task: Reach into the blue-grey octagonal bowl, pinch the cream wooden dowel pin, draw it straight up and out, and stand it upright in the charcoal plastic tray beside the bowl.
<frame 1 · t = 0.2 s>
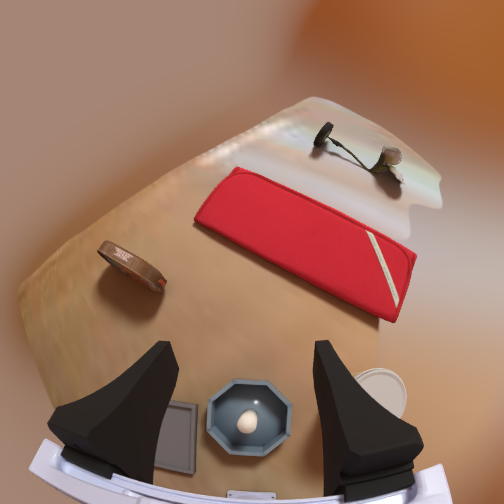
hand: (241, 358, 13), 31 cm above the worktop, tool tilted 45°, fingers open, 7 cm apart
dowel pin: (250, 415, 37), point 1 cm above the worktop, touching blue-grey octagonal bowl
blue-grey octagonal bowl: (250, 414, 38), on the worktop
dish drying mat: (308, 240, 50), on the worktop
tray: (165, 433, 36), on the worktop
coffee cup: (349, 395, 38), on the worktop
tin: (140, 274, 49), on the worktop
artificial flower: (361, 161, 57), on the worktop
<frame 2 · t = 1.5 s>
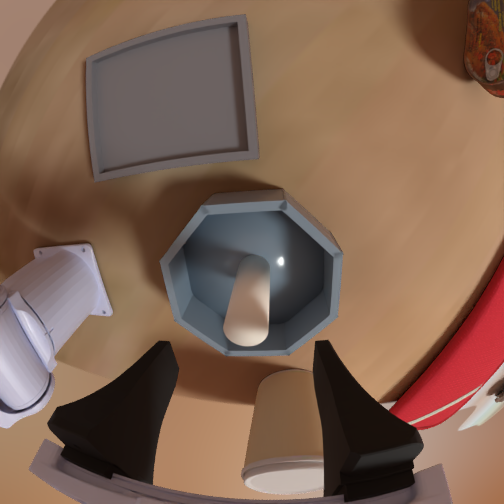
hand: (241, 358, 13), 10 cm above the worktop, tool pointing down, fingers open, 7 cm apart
dowel pin: (254, 269, 22), point 1 cm above the worktop, touching blue-grey octagonal bowl
blue-grey octagonal bowl: (254, 266, 22), on the worktop
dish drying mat: (497, 312, 23), on the worktop
tray: (166, 98, 17), on the worktop
coffee cup: (291, 389, 28), on the worktop
tin: (476, 39, 12), on the worktop
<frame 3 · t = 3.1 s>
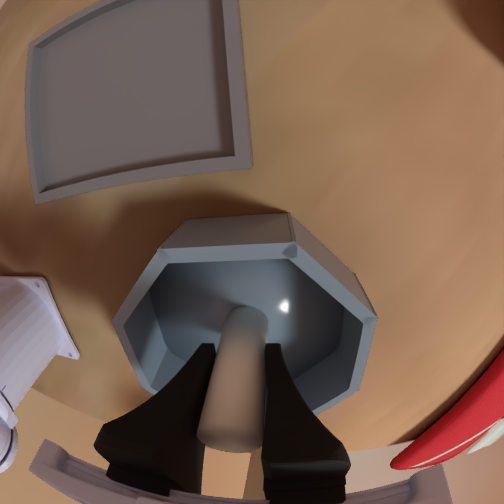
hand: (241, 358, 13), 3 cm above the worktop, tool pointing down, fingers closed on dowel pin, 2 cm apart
dowel pin: (246, 323, 15), point 1 cm above the worktop, touching blue-grey octagonal bowl, gripper
blue-grey octagonal bowl: (247, 317, 16), on the worktop
tray: (121, 83, 11), on the worktop
coffee cup: (292, 439, 22), on the worktop
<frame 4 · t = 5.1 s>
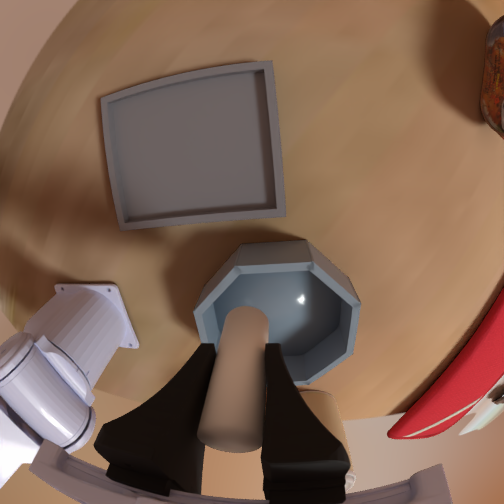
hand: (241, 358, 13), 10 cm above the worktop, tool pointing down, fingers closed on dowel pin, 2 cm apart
dowel pin: (246, 324, 15), point 8 cm above the worktop, touching gripper
blue-grey octagonal bowl: (278, 307, 24), on the worktop
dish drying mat: (496, 333, 25), on the worktop
tray: (190, 147, 19), on the worktop
coffee cup: (306, 406, 30), on the worktop
tin: (492, 76, 13), on the worktop
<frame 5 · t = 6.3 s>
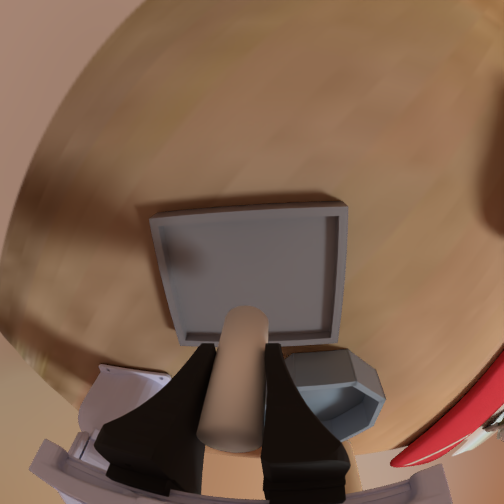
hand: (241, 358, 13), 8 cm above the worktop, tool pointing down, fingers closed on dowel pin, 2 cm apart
dowel pin: (246, 323, 15), point 6 cm above the worktop, touching gripper
blue-grey octagonal bowl: (315, 391, 25), on the worktop
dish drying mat: (489, 384, 27), on the worktop
tray: (253, 277, 20), on the worktop
coffee cup: (325, 448, 31), on the worktop
when the fingers open (5 cm above the worktop, at t = 7.4 s): dowel pin stays where it is, resting on tray.
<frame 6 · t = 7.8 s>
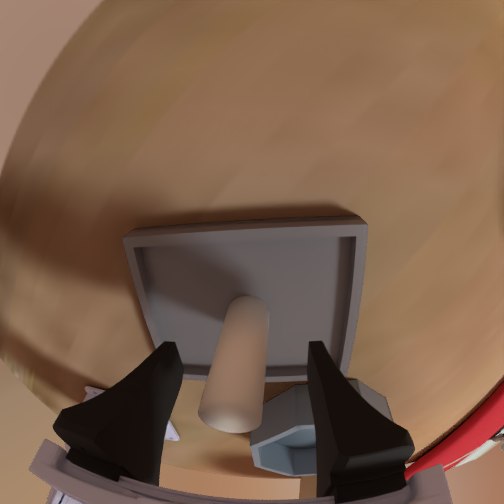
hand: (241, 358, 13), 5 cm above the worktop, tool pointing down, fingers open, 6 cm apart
dowel pin: (248, 313, 16), point 1 cm above the worktop, touching tray
blue-grey octagonal bowl: (319, 420, 22), on the worktop
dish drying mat: (498, 400, 23), on the worktop
tray: (249, 306, 17), on the worktop
coffee cup: (327, 469, 28), on the worktop
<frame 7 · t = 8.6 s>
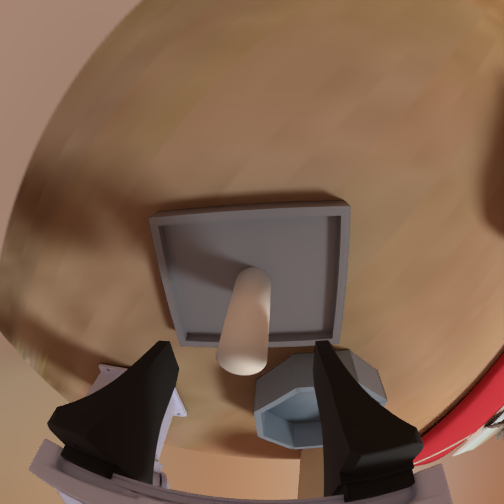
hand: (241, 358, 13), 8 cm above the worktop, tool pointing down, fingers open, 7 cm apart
dowel pin: (253, 282, 19), point 1 cm above the worktop, touching tray
blue-grey octagonal bowl: (317, 392, 25), on the worktop
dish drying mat: (490, 385, 26), on the worktop
tray: (253, 277, 20), on the worktop
coffee cup: (326, 448, 31), on the worktop
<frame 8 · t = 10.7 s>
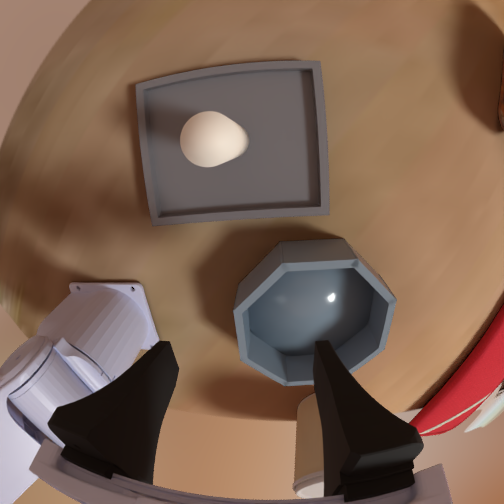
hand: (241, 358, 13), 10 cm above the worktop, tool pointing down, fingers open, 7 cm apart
dowel pin: (231, 140, 18), point 1 cm above the worktop, touching tray
blue-grey octagonal bowl: (311, 305, 23), on the worktop
tray: (232, 141, 19), on the worktop
coffee cup: (327, 404, 29), on the worktop
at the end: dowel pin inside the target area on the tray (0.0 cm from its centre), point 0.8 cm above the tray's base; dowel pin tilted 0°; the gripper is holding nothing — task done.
